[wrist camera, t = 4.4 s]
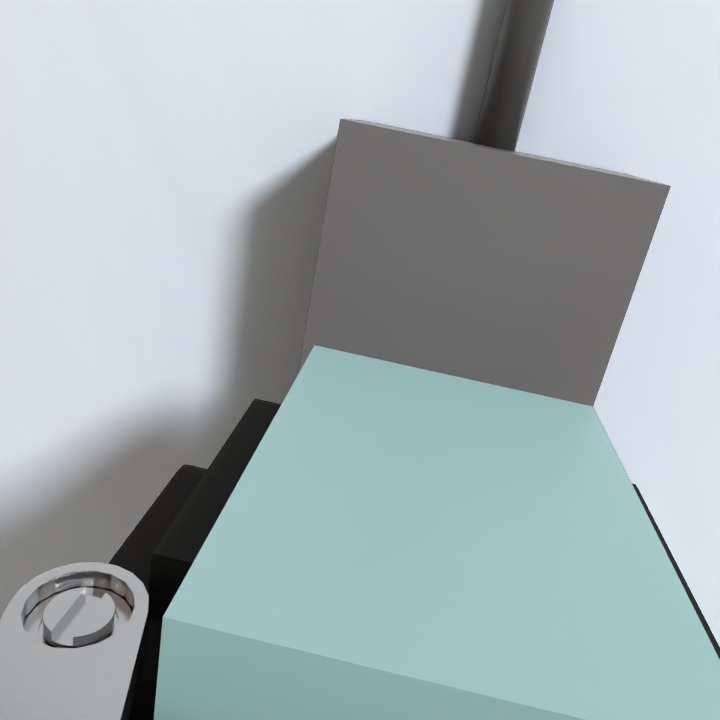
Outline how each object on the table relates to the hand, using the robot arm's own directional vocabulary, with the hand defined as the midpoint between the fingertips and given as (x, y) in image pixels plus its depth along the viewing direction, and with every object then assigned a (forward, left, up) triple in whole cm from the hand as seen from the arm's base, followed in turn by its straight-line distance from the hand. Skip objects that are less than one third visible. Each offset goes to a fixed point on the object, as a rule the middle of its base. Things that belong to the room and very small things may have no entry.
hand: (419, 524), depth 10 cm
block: (0, 0, -3) cm, 3 cm away
